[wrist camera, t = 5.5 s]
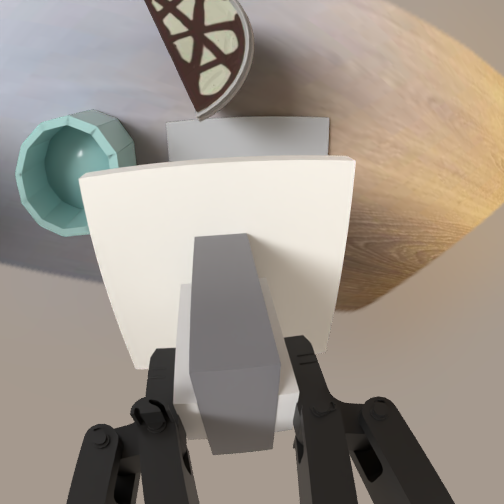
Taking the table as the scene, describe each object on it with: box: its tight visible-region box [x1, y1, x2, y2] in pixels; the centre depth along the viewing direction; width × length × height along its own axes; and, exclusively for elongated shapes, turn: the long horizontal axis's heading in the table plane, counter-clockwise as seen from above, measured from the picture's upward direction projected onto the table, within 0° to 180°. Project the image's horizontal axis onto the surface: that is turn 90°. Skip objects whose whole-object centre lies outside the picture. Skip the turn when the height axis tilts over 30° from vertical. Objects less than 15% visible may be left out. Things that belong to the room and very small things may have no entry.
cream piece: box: [79, 155, 356, 455], centre depth 13 cm, size 13×13×9 cm
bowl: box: [15, 109, 137, 237], centre depth 25 cm, size 11×11×6 cm
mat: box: [166, 116, 329, 162], centre depth 32 cm, size 16×16×1 cm
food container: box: [144, 0, 254, 122], centre depth 20 cm, size 12×6×10 cm, turn 22°
